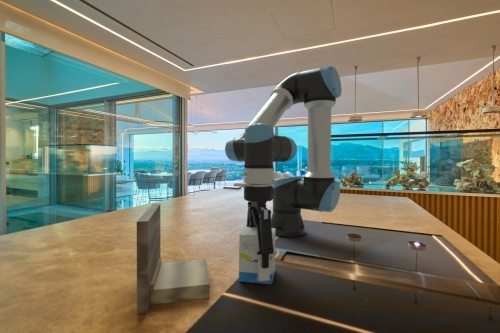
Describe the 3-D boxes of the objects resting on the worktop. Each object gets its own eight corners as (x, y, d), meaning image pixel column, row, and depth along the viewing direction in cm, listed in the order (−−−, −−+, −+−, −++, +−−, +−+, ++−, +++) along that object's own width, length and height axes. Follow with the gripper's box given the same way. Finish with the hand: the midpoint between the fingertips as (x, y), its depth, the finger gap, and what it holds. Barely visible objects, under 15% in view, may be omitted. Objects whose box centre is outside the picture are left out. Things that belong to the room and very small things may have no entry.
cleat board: (205, 265, 71) (205, 202, 70) (210, 305, 51) (210, 218, 51) (152, 270, 68) (152, 203, 67) (137, 314, 48) (136, 221, 48)
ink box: (272, 285, 60) (272, 236, 60) (238, 281, 62) (238, 234, 61) (275, 269, 68) (276, 227, 68) (245, 267, 70) (245, 225, 70)
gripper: (236, 181, 75) (235, 254, 75) (255, 190, 52) (254, 294, 53) (260, 181, 77) (259, 252, 77) (289, 189, 54) (288, 290, 55)
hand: (257, 269), depth 65 cm, fingers closed on ink box, 11 cm apart
